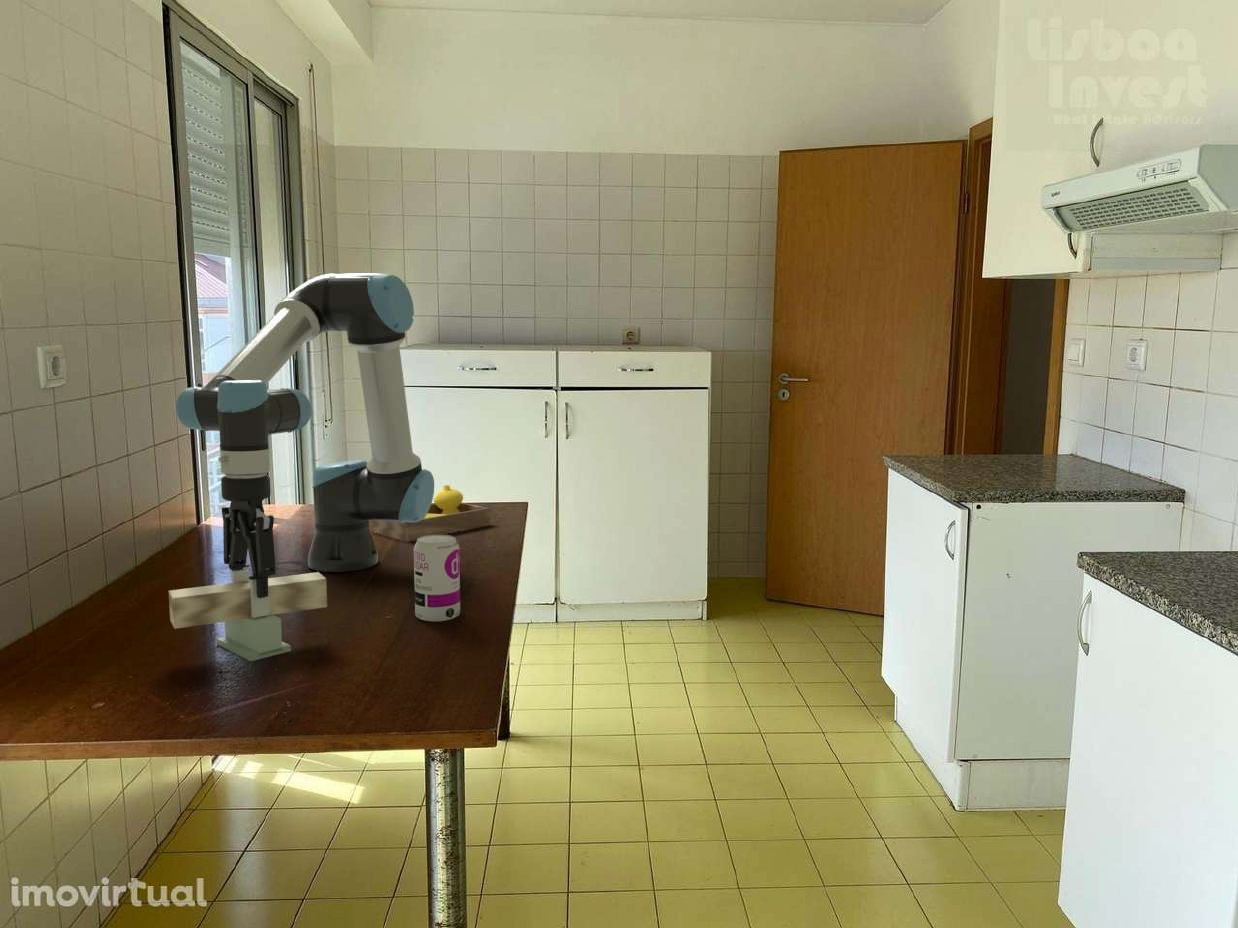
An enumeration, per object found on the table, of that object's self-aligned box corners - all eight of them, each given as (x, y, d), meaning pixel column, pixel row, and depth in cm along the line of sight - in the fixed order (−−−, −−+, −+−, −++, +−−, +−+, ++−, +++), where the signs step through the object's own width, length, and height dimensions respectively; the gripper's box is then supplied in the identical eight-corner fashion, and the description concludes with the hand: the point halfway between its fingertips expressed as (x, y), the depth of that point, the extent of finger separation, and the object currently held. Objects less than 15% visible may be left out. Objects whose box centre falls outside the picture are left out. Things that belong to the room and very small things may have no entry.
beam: (174, 628, 153) (172, 598, 152) (170, 620, 157) (168, 590, 156) (327, 606, 165) (326, 578, 164) (319, 599, 169) (318, 572, 169)
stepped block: (217, 644, 163) (215, 610, 163) (256, 634, 168) (254, 601, 168) (250, 661, 155) (248, 625, 154) (290, 650, 160) (289, 616, 160)
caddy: (371, 536, 248) (370, 513, 247) (452, 521, 267) (452, 500, 266) (407, 546, 237) (406, 522, 236) (489, 530, 256) (489, 508, 255)
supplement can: (467, 613, 182) (466, 535, 180) (446, 625, 175) (444, 545, 172) (430, 609, 185) (428, 532, 183) (407, 621, 177) (405, 541, 175)
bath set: (423, 542, 245) (416, 501, 243) (395, 540, 251) (388, 500, 249) (476, 521, 261) (470, 482, 259) (449, 519, 267) (443, 482, 265)
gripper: (197, 470, 161) (203, 604, 165) (250, 483, 149) (256, 628, 152) (240, 466, 167) (245, 596, 170) (295, 478, 154) (300, 618, 157)
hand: (250, 611), depth 161 cm, fingers closed on beam, 6 cm apart
